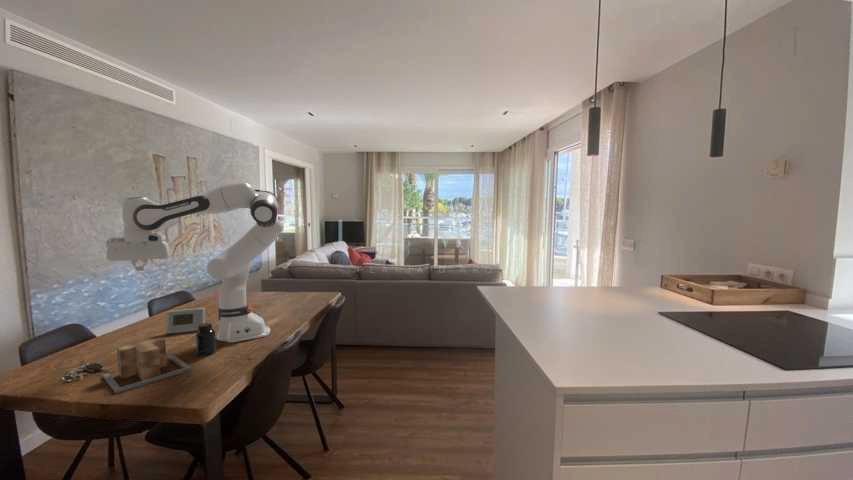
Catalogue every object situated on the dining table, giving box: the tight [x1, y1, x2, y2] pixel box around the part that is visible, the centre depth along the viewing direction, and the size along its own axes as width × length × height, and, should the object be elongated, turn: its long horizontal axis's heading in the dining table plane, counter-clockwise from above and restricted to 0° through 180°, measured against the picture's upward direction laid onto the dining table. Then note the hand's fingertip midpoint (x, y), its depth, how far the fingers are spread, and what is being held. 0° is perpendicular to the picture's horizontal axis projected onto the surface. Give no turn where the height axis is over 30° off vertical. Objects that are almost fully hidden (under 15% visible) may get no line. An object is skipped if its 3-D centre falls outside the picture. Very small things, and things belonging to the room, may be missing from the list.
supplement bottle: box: [195, 322, 217, 357], centre depth 142 cm, size 7×7×12 cm
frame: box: [102, 354, 192, 394], centre depth 124 cm, size 21×18×1 cm
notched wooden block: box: [116, 337, 168, 381], centre depth 124 cm, size 13×12×10 cm
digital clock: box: [165, 307, 206, 335], centre depth 170 cm, size 16×9×11 cm, turn 100°
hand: (140, 270), depth 142 cm, fingers closed
